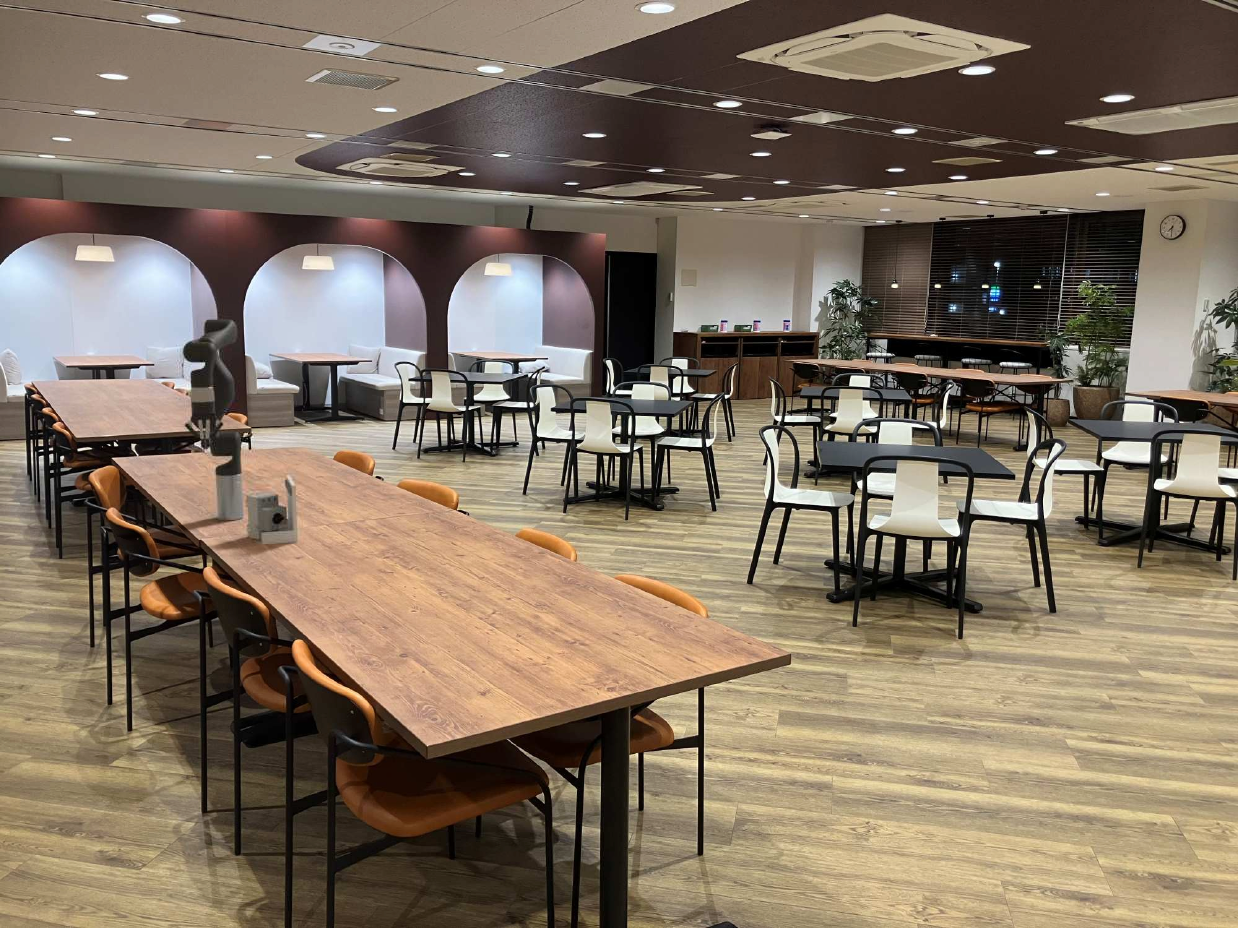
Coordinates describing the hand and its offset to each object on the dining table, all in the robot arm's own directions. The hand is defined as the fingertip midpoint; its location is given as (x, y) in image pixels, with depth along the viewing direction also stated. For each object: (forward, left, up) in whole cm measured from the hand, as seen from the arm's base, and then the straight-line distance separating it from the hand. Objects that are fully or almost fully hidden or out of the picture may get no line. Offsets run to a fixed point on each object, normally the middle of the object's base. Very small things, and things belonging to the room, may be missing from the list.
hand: (205, 449), depth 344 cm
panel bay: (+10, +22, -31) cm, 39 cm away
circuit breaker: (+10, +19, -31) cm, 38 cm away
